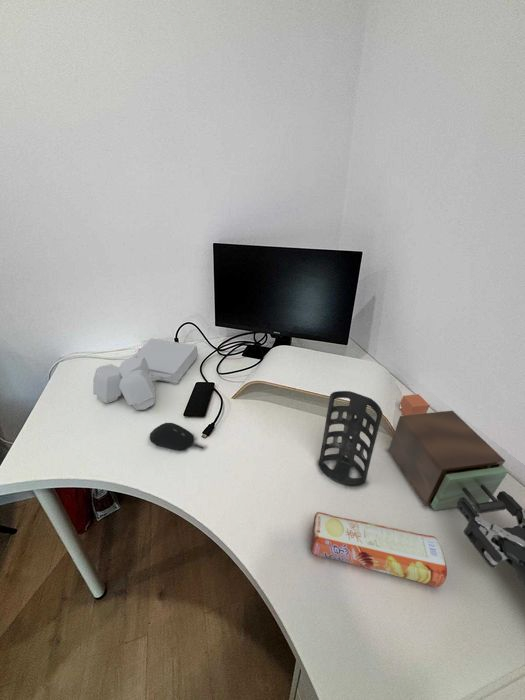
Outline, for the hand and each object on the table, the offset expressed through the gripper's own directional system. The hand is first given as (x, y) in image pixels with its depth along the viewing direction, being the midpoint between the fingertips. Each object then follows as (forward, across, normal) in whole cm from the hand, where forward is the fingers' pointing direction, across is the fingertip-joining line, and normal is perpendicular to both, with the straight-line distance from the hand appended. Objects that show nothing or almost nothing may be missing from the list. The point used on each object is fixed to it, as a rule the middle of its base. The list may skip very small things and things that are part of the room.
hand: (480, 496), depth 55 cm
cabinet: (+11, 0, -7) cm, 13 cm away
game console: (+58, -70, -7) cm, 92 cm away
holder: (+15, -20, -7) cm, 26 cm away
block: (+30, +7, -7) cm, 31 cm away
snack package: (-4, -23, -7) cm, 24 cm away
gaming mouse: (+29, -60, -7) cm, 67 cm away
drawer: (+6, 0, -6) cm, 9 cm away
